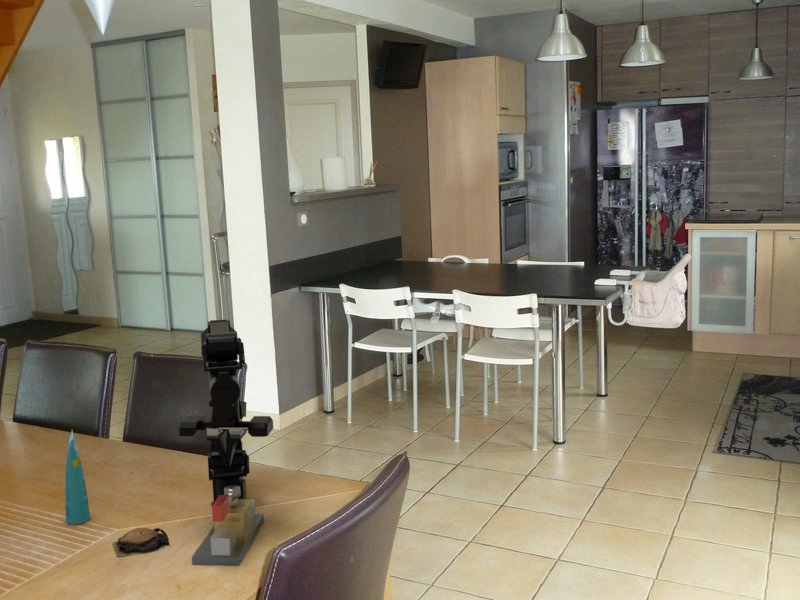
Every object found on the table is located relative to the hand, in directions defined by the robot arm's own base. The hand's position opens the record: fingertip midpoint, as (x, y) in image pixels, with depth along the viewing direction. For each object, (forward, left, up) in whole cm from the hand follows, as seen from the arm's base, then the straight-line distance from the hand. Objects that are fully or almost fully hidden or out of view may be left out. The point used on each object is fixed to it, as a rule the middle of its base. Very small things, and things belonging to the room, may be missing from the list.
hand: (228, 465), depth 172 cm
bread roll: (-16, -10, -14) cm, 23 cm away
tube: (-34, +1, -13) cm, 36 cm away
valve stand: (+3, -8, -13) cm, 16 cm away
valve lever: (+3, -12, -4) cm, 13 cm away
